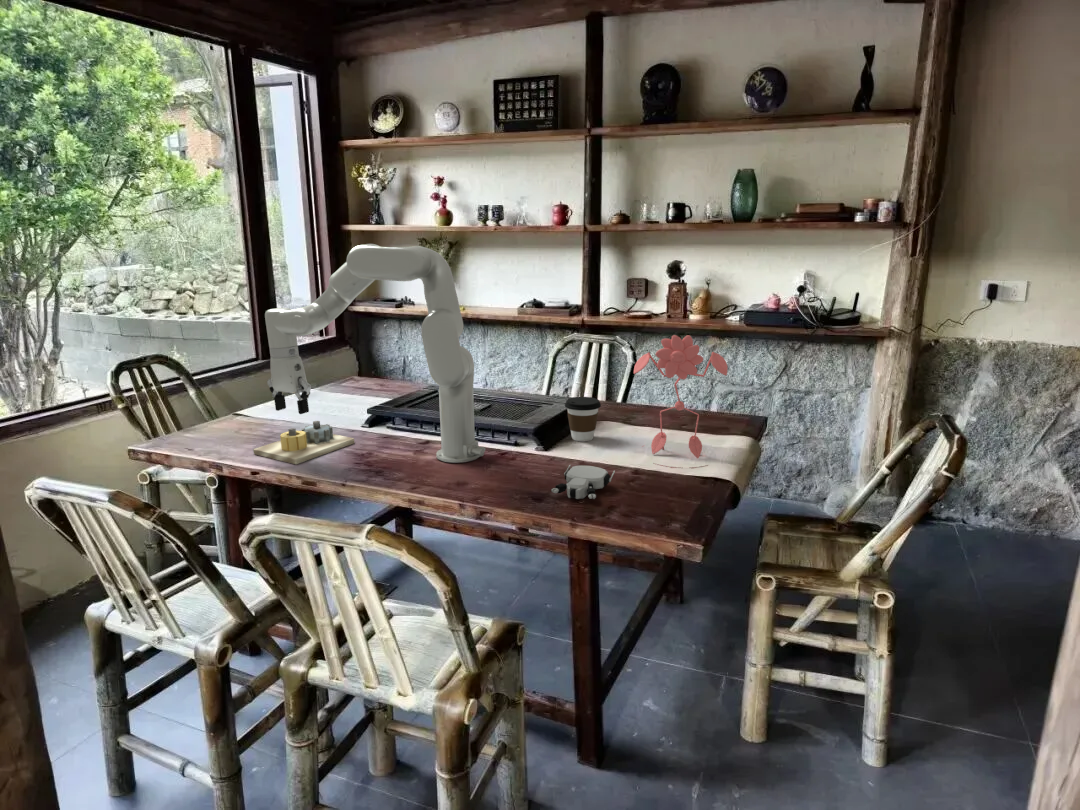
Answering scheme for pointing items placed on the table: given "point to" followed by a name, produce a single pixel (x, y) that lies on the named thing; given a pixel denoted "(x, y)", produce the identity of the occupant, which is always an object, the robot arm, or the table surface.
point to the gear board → (317, 444)
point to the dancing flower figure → (680, 362)
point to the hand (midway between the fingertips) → (292, 411)
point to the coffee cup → (582, 417)
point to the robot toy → (583, 481)
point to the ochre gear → (293, 441)
